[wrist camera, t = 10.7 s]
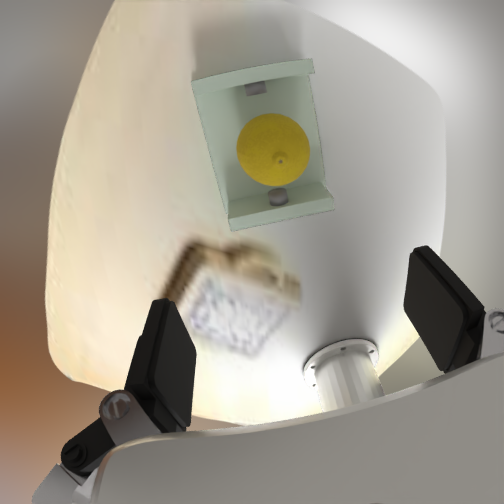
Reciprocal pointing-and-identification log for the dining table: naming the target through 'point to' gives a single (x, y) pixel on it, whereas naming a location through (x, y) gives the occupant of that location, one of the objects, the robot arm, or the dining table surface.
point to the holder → (232, 122)
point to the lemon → (273, 149)
